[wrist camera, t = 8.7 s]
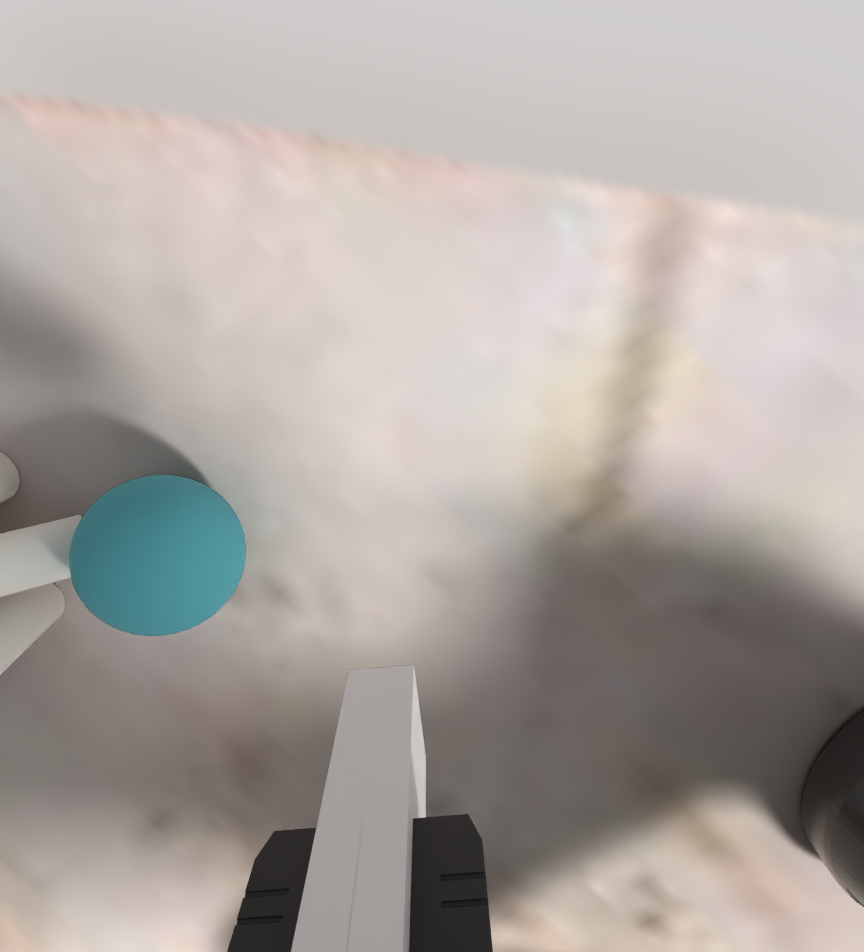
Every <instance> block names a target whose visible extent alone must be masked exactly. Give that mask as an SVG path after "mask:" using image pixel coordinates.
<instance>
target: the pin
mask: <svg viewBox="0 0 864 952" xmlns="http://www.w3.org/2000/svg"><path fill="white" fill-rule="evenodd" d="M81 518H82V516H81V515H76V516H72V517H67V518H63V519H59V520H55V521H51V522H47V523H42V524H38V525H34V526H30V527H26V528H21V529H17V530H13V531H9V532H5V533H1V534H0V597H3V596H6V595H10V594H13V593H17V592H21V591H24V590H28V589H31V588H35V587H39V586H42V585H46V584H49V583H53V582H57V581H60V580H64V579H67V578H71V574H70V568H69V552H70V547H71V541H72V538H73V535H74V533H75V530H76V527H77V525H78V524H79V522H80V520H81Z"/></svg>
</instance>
